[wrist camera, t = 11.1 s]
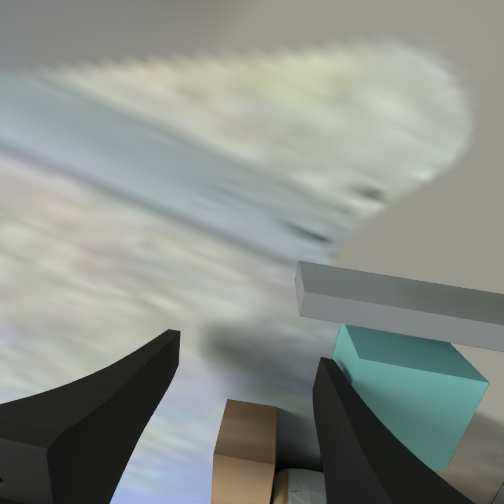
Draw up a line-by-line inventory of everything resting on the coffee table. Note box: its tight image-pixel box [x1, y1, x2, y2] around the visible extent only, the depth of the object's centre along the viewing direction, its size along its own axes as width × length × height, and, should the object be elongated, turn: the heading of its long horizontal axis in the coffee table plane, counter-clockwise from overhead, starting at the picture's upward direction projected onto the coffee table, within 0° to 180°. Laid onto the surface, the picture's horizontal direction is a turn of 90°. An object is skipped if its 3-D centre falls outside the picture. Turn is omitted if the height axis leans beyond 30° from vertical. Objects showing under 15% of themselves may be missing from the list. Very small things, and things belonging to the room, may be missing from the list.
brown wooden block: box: [211, 399, 277, 504], centre depth 16 cm, size 12×3×4 cm, turn 175°
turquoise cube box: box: [332, 324, 489, 472], centre depth 12 cm, size 5×5×3 cm
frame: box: [295, 261, 504, 504], centre depth 14 cm, size 24×15×4 cm, turn 172°
